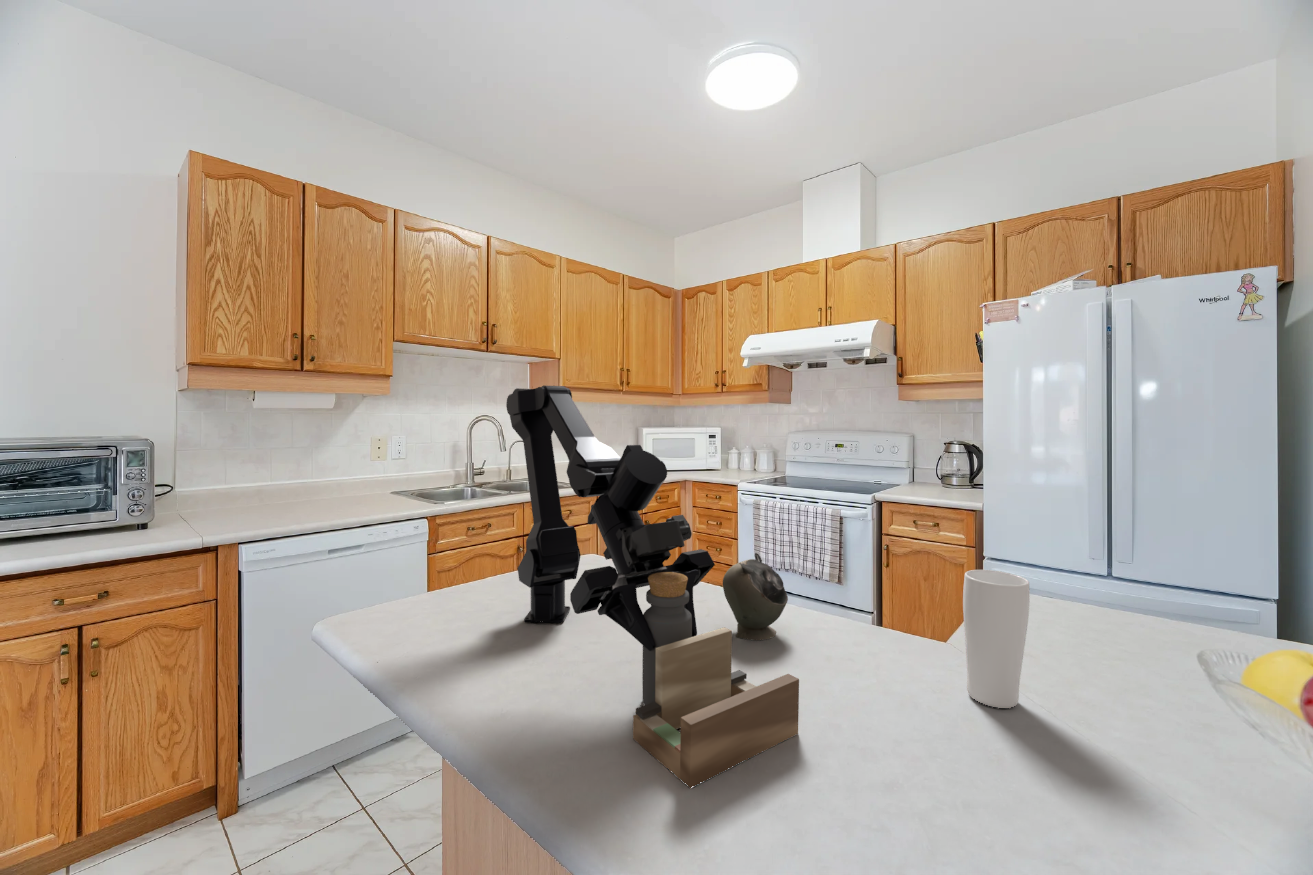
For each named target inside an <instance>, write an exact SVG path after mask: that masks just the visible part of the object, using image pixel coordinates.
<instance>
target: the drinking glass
mask: <svg viewBox="0 0 1313 875" xmlns="http://www.w3.org/2000/svg"><path fill="white" fill-rule="evenodd" d="M962 589H963V591H962V611H963V612H962V615H963V628H964V631H963V632H964V644H965V656H966V657H965V659H966V660H965V661H966V691H967V693H968V695H969V696H970V698H972V699H973V700H974V699H975V700H974V701H976V702H977V701H978V702H977V703H979V702H980V703H979V704H981V703H983V704H982V705H984V704H985V705H984V706H986V705H989V706H993V707H998V708H997V709H999V708H1009V709H1012V708H1011V707H1013V708H1015V707H1016V706H1017V705H1018V704H1019V701H1020V698H1019V697H1020V682H1021V676H1022V670H1023V668H1022V667H1023V663H1024V662H1023V660H1024V655H1025V654H1024V653H1025V646H1026V639H1027V634H1028V633H1027V632H1028V625H1029V619H1030V618H1029V616H1030V598H1031V597H1030V596H1031V595H1030V581H1029V580H1027V578H1025V577H1023V576H1021V575H1017V574H1014V573H1010V572H1005V571H999V570H991V569H972V570H968V571H965V573H964V579H963V588H962ZM989 706H988V707H989ZM1014 706H1015V707H1014ZM993 707H992V708H993Z"/></svg>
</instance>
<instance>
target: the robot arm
mask: <svg viewBox="0 0 1313 875" xmlns="http://www.w3.org/2000/svg"><path fill="white" fill-rule="evenodd" d="M572 393H573V392H572V391H571V389H570V388H568V387H567V386H563V385H542V386H538V387H536V388H520V387H519V388H517V387H516V388H515V389H514V390H513V391H512V393H510V394H509V395H508V396H507V398H506V405H505V406H506V411H507V414H508V415H509V420H510V423H511V427H512V429H513V430H514V431H515V432H516V434H517V435H518V436H519V437H520V439H521V440H522V441H523V442H522V443H523V450H524V457H525V458H524V459H525V464H526V473H527V481H528V489H529V490H528V491H529V496H530V506H531V511H532V512H531V513H532V521H533V524H532V527H531V529H530V531H529V534H528V536H527V538H526V542H525V545H526V546H525V547H526V551H525V553H524V555H523V557H522V559H521V561H520V563H519V565H518V567H517V573H518V575H517V576H518V581H519V582H521V583H522V584H524V585H525V586H527V587H528V588H529V589H530V609H529V612H528V613H527V614H526V616H525V617H524V618H523V621H524V623H555V624H556V623H557V624H561V623H564V622H565V620H566V618H567V616H568V614H569V613H570V611H571V606H572V609H573V612H574V614H576V615H579V614H583V613H588V612H593V611H596V610H597V613H598V615H599V616H602V615H603V616H604V615H605V616H607V617H608V618H609V619H611V620H612V621H614V622H615V623H616V624H617V625H619V626H620V627H621V628H623V630H625V631H626V632H627V633H629V634H630V635H631V636H632V637H633V638H634V639H635V640H637V642H639V643H640V644H641V646H642V647H643V646H644V647H645V648H647V649H648V650H649V651H652V650H653V649H654V648H655V647H656V646H655V642H654V639H653V636H652V633H651V631H650V629H649V626H648V624H647V622H646V620H645V617H644V615H643V614H644V612H643V611H642V609H641V607H640V606H641V605H640V604H639V602H638V594H637V589H639V588H642V587H647V586H649V581H648V577H649V576H650V575H652V574H655V573H660V572H674V573H680V574H683V575H685V576H687V578H688V581H687V585H686V590H687V591H688V592H689V602H688V603H687V604H685V605H684V608H686V609H687V610H688V611H689V612H690V613H691V615H692V637H694V636H697V635H698V630H697V629H698V628H697V619H696V613H695V612H696V611H695V605H694V604H695V603H694V587H695V586H698V584H699V583H700V582H701V581H702V580H703V579H704V578H705V577H706V575H707V574H708V573H709V572H710V571H711V570H712V569H713V567H714V566H716V564H715V562H714V559H713V558H712V557H711V555H710V553H709V551H708V550H705V549H702V548H700V549H695V550H689V551H685V552H681V553H680V554H679V555H678V556H677V558H676V559H675V561H674V562H673V563H672V564H669V565H664V562H665V561H668V560H669V559H670V557H671V556H672V554H671V552H670V551H672V550H675V549H677V548H680V549H682V548H683V547H685V546H686V545H685V541H688V540H690V539H691V538H692V535H693V533H692V529H691V526H690V523H689V522H688V520H687V519H686V518H685V516H684V514H678V515H671V517H670V518H666V520H665V521H663V522H654V523H648V524H645V523H644V521H643V519H642V517H641V515H640V513H639V512H640V511H643V510H644V509H646V508H647V507H648V506H649V504H650V503H651V501H652V500H653V498H654V496H655V495H656V493H657V492H658V490H659V489H660V488H661V486H662V485H663V483H664V482H665V480H666V478H667V477H668V476H667V475H668V468H667V467H666V464H665V462H664V461H663V460H660V459H659V457H657V456H656V455H654V454H653V453H650V452H649V451H646V450H644V449H643V447H642V446H641V444H627V445H626V447H625V448H624V450H623V453H622V455H621V457H620V456H619V455H618V453H617V452H616V451H615V450H614V449H613V447H611V446H609V445H607V444H605V443H603V442H601V441H599V440H598V438H597V437H596V436H595V435H594V433H593V431H592V429H591V428H590V427H589V424H588V423H587V421H586V420H585V418H584V416H583V415H582V413H581V412H580V409H579V408H578V406H577V404H576V403H575V401H574V400H573V395H572ZM553 432H554V434H555V435H556V437H557V439H558V442H559V443H560V445H561V447H562V449H563V450H564V453H565V454H566V457H567V460H568V464H567V467H566V475H567V478H568V483H569V485H570V487H571V489H572V490H573V492H574V494H575V495H576V496H577V497H579V498H591V497H597V498H596V500H595V502H594V503H593V504H591V505H590V512H589V513H588V515H587V524H588V525H596V526H597V528H598V530H599V533H600V536H601V538H602V540H603V541H604V545H605V546H606V547H605V549H604V551H603V556H604V559H605V560H611V561H612V563H613V565H614V567H613V566H610V565H607V566H602V567H601V566H600V567H596V568H590V569H585V570H584V571H583V572H582V573H581V576H580V577H579V579H578V580H577V582H576V583H575V585H574V586H573V588H572V590H571V591H570V596H569V597H570V598H569V600H570V603H571V606H567V605H566V581H569V580H576V579H577V576H578V573H579V572H578V571H579V565H580V561H581V551H580V547H579V544H578V537H577V535H578V534H577V530H576V528H575V527H574V526H569V524H568V523H567V522H566V521H565V519H564V517H563V512H562V504H561V497H560V491H559V483H558V474H557V469H556V468H557V467H556V462H555V454H554V453H555V452H554V447H553V440H552V439H553V438H552V435H553Z"/></svg>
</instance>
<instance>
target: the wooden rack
mask: <svg viewBox="0 0 1313 875" xmlns="http://www.w3.org/2000/svg"><path fill="white" fill-rule="evenodd" d="M799 688H800V679H799V678H798V677H796V676H794V675H792V674H790V673H787V674H784V675H782V676H779V677H777V678H774V679H772V680H769V681H767V682H764V683H762V684H759V685H757V686H756V685H755V684H753V683H751V682H749V681H747V679H744V680H742V681H739V682H737V683H734V684H731V697H730V698H727V699H725V700H722V701H720V702H717V703H715V704H712V705H710V706H707V707H705V708H703V709H700V710H698V711H695V712H693V713H690V714H688V715H685V716H683V717H681V728H680V731H678V729H675V728H673V727H672V726H671V725H669V724H668V723H667V722H666V721H664V720H663V719H662V718H660V717H659V716H658V715H656V714H654V715H652V716H649V717H647V718H644V719H642V718H640V717H639V716H638V715H637V714H636V713H635V714H634V715H633V716H632V717H633V718H632V719H633V720H632V726H633V727H632V739H633V740H634V741H635V742H637V743H638V744H639V746H641V747H642V748H643V749H644V750H646V752H647V753H649V754H650V755H651V756H652V757H653V758H654V759H655V760H657V761H658V762H659V763H660V764H661V765H662V766H664V767H665V768H666V769H667V768H668V769H669V770H670V771H669V770H668V769H667V770H668V771H669V772H671V771H672V772H673V773H674V774H675V775H676V776H677V777H678V778H677V777H676V776H675V775H674V774H673V773H672V772H671V773H672V774H673V775H674V776H675V777H676V778H677V779H679V780H680V779H681V780H682V781H683V782H684V783H686V784H687V785H688V786H689V787H690V788H691V787H692V786H695V785H697V784H699V785H701V784H700V782H703V781H705V782H707V781H708V780H707V779H709V778H711V777H712V778H714V777H716V776H718V775H720V774H722V773H724V772H726V771H728V770H729V769H728V768H730V769H732V768H733V767H732V766H734V767H736V766H737V765H736V764H738V763H740V762H742V761H744V760H746V761H747V760H749V759H748V758H750V759H752V758H754V757H755V756H757V755H759V754H761V753H763V752H765V751H767V750H769V749H771V748H773V747H775V746H778V745H779V744H780V742H781V743H783V742H784V740H785V741H786V740H789V739H791V738H792V737H795V736H797V735H798V734H799V711H800V710H799V709H800V708H799V706H800V705H799V704H800V699H799V698H800V689H799ZM788 738H789V739H788ZM778 743H779V744H778ZM762 751H763V752H762ZM758 753H759V754H758ZM756 754H757V755H756ZM754 755H755V756H754ZM753 756H754V757H753ZM751 757H752V758H751ZM744 762H745V761H744ZM742 763H743V762H742ZM740 764H741V763H740ZM735 765H736V766H735ZM738 765H739V764H738ZM731 767H732V768H731ZM727 769H728V770H727ZM725 770H726V771H725ZM723 771H724V772H723ZM721 772H722V773H721ZM719 773H720V774H719ZM717 774H718V775H717ZM715 775H716V776H715ZM713 776H714V777H713ZM712 778H711V779H712ZM681 780H680V781H681ZM706 780H707V781H706ZM709 780H710V779H709ZM682 781H681V782H682ZM683 782H682V783H683ZM684 783H683V784H684ZM703 783H704V782H703ZM688 786H687V787H688ZM697 786H698V785H697ZM689 787H688V788H689ZM695 787H696V786H695ZM690 788H689V789H690ZM691 789H692V788H691Z"/></svg>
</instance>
